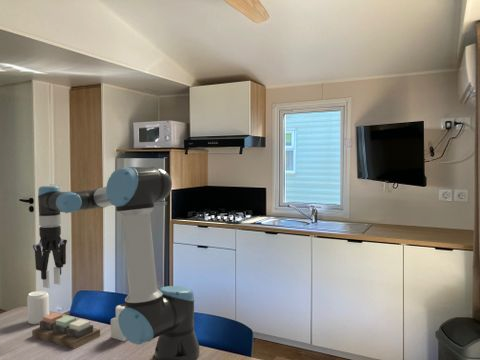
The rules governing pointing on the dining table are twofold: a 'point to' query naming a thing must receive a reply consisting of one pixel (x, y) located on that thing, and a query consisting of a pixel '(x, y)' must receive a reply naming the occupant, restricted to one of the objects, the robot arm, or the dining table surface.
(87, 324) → the cream button
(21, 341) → the dining table surface
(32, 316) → the white canister
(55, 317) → the terracotta button
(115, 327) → the medicine bottle
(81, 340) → the button panel
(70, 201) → the robot arm
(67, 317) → the sage button
